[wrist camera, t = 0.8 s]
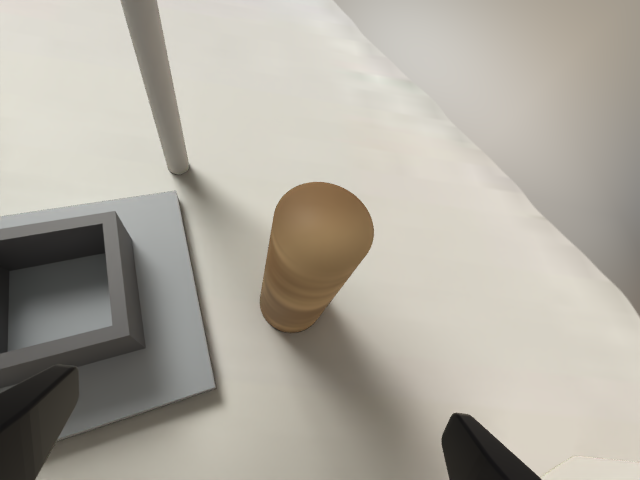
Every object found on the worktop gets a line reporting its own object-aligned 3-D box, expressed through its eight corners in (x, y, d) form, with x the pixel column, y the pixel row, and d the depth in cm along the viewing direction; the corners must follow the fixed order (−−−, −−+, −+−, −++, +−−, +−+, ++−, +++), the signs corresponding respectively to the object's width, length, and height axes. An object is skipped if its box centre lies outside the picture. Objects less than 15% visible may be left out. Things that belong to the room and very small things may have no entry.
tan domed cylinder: (330, 322, 24) (389, 258, 15) (269, 340, 23) (290, 283, 13) (310, 266, 26) (352, 176, 16) (252, 280, 25) (261, 190, 15)
